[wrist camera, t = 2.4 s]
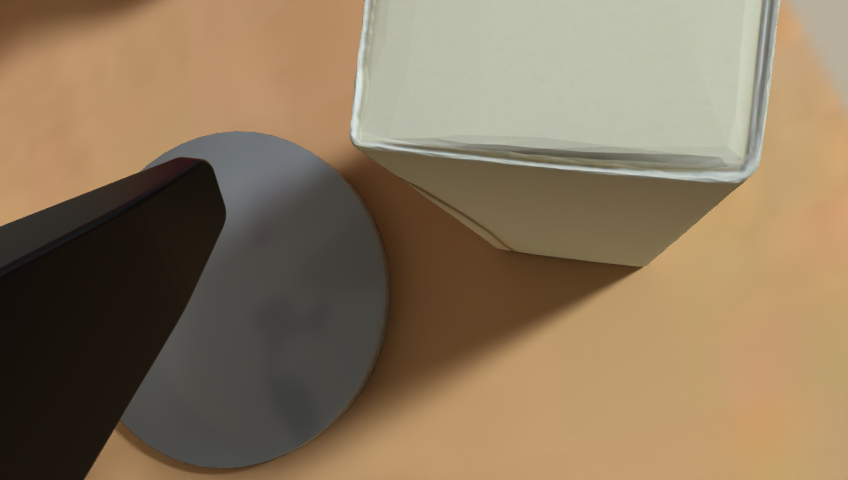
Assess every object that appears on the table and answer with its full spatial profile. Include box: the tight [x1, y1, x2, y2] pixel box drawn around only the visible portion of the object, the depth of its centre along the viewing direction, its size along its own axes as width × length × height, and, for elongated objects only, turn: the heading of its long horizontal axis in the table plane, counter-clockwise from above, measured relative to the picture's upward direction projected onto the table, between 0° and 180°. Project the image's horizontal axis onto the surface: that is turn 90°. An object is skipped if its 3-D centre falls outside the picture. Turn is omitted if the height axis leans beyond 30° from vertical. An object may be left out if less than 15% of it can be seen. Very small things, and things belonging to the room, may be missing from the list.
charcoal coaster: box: [120, 131, 390, 468], centre depth 20 cm, size 10×10×1 cm
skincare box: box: [350, 0, 780, 267], centre depth 13 cm, size 6×4×12 cm
